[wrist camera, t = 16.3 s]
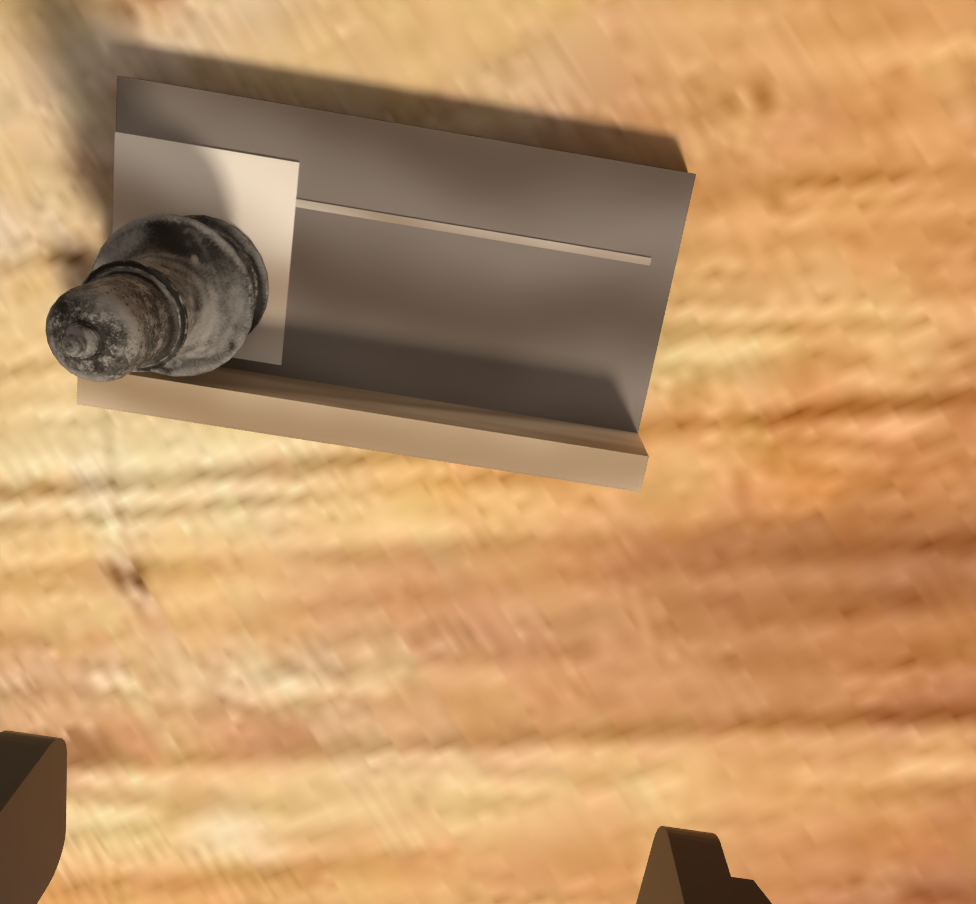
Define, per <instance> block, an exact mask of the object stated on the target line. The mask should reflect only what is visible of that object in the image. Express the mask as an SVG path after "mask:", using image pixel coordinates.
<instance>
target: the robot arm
mask: <svg viewBox="0 0 976 904" xmlns="http://www.w3.org/2000/svg"><path fill="white" fill-rule="evenodd" d="M66 782H67V748H66V743H65V741H64V740H63V739H61V738H56V737H49V736H42V735H35V734H28V733H21V732H14V731H3V732H1V733H0V904H37V903H38V901H39V899H40V898H41V896H42V894H43V893H44V891H45V890H46V888H47V886H48V885H49V883H50V881H51V879H52V877H53V875H54V873H55V870H56V868H57V865H58V863H59V860H60V857H61V853H62V849H63V845H64V840H65V833H66ZM636 904H772V903H771V902H770V901H769V899H768V898H767V897H766V896H765V894H764V893H763V892H762V891H761V889H760V888H759V887H758V886H757V884H756V883H755V882H754V881H753V880H749V879H742V878H735V877H731V876H730V872H729V869H728V866H727V863H726V859H725V856H724V853H723V850H722V847H721V843H720V841H719V839H718V837H717V836H716V835H715V834H713V833H707V832H700V831H693V830H686V829H679V828H672V827H665V826H660V827H659V828H658V830H657V832H656V834H655V837H654V840H653V844H652V848H651V851H650V855H649V859H648V862H647V866H646V870H645V873H644V877H643V881H642V884H641V888H640V892H639V895H638V899H637V903H636Z"/></svg>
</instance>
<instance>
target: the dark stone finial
mask: <svg viewBox="0 0 976 904" xmlns="http://www.w3.org/2000/svg"><path fill="white" fill-rule="evenodd" d="M268 296H269V281H268V273H267V270H266V267H265V264H264V262H263V259H262V256H261V255H260V253H259V252H258V250H257V249H256V247H255V246H254V244H253V243H252V241H251V240H250V239H249V238H248V237H247V236H245V235H244V234H243V233H242V232H241V231H240V230H239V229H238V228H236V227H234V226H232V225H231V224H229V223H227V222H225V221H223V220H221V219H217V218H213V217H210V216H206V215H186V216H180V215H176V214H152V215H148V216H145V217H142V218H139V219H135V220H132V221H130V222H129V223H127V224H126V225H124V226H122V227H121V228H119V229H118V230H116V231H115V232H114V233H113V234H112V235H111V236H110V238H109V239H108V240H107V241H106V243H105V244H104V245H103V246H102V247H101V249H100V252H99V254H98V257H97V259H96V261H95V264H94V266H93V271H92V272H91V273H90V274H89V276H88V277H87V278H86V279H85V281H84V282H83V283H82V285H81V286H78V287H76V288H73V289H70V290H69V291H67V292H66V293H64V294H63V295H61V296H60V297H59V298H58V299H57V301H56V302H55V303H54V304H53V306H52V307H51V308H50V311H49V314H48V316H47V320H46V335H47V341H48V344H49V346H50V349H51V351H52V353H53V355H54V356H55V357H56V359H57V360H58V361H59V363H60V364H61V365H62V366H63V367H64V368H66V369H67V370H68V371H69V372H70V373H72V374H74V375H76V376H78V377H79V378H81V379H85V380H89V381H93V382H109V381H113V380H117V379H121V378H123V377H124V376H126V375H127V374H129V373H131V372H148V371H152V372H156V373H160V374H164V375H169V376H195V375H199V374H202V373H206V372H209V371H212V370H214V369H216V368H217V367H219V366H221V365H222V364H224V363H225V362H227V361H229V360H230V359H231V358H232V357H233V355H234V354H235V353H236V352H237V351H238V350H239V349H240V348H241V347H242V345H243V344H244V341H245V339H246V337H247V335H249V334H250V332H251V331H252V330H253V329H254V328H255V327H256V326H257V325H258V324H259V322H260V320H261V318H262V316H263V314H264V312H265V310H266V307H267V302H268Z"/></svg>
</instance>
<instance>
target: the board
mask: <svg viewBox="0 0 976 904" xmlns="http://www.w3.org/2000/svg"><path fill="white" fill-rule="evenodd" d="M695 176H696V174H693V173H687V172H681V171H675V170H669V169H664V168H658V167H652V166H646V165H640V164H634V163H628V162H622V161H617V160H611V159H605V158H599V157H593V156H587V155H581V154H575V153H569V152H564V151H558V150H552V149H546V148H540V147H534V146H528V145H522V144H517V143H511V142H505V141H499V140H493V139H487V138H481V137H475V136H470V135H464V134H458V133H452V132H446V131H440V130H434V129H428V128H423V127H417V126H411V125H405V124H399V123H393V122H387V121H381V120H376V119H370V118H364V117H358V116H352V115H346V114H340V113H334V112H328V111H323V110H317V109H311V108H305V107H299V106H293V105H287V104H281V103H276V102H270V101H264V100H258V99H252V98H246V97H240V96H234V95H229V94H223V93H217V92H211V91H205V90H199V89H193V88H187V87H182V86H176V85H170V84H164V83H158V82H152V81H146V80H140V79H135V78H129V77H123V76H117V106H116V132H115V141H114V178H113V215H112V234H113V233H114V232H115V231H116V230H118V229H119V228H121V227H122V226H124V225H126V224H127V223H129V222H130V221H132V220H135V219H139V218H142V217H145V216H148V215H152V214H176V215H180V216H186V215H206V216H210V217H213V218H217V219H221V220H223V221H225V222H227V223H229V224H231V225H232V226H234V227H236V228H238V229H239V230H240V231H241V232H242V233H243V234H244V235H245V236H247V237H248V238H249V239H250V240H251V241H252V243H253V244H254V246H255V247H256V249H257V250H258V252H259V253H260V255H261V256H262V259H263V262H264V264H265V267H266V270H267V273H268V281H269V296H268V302H267V307H266V310H265V312H264V314H263V316H262V318H261V320H260V322H259V324H258V325H257V326H256V327H255V328H254V329H253V330H252V331H251V332H250V334H249V335H247V337H246V339H245V341H244V344H243V345H242V347H241V348H240V349H239V350H238V351H237V352H236V353H235V354H234V355H233V357H232V358H231V359H230V360H229V361H227V362H225V363H224V364H222V365H221V366H219V367H217V368H216V369H214V370H212V371H209V372H206V373H202V374H199V375H195V376H169V375H164V374H160V373H156V372H152V371H148V372H131V373H129V374H127V375H126V376H124V377H123V378H121V379H117V380H113V381H109V382H93V381H89V380H85V379H81V378H79V377H78V383H77V404H79V405H85V406H91V407H98V408H104V409H111V410H117V411H123V412H130V413H136V414H143V415H149V416H155V417H162V418H168V419H175V420H181V421H187V422H194V423H200V424H207V425H213V426H219V427H226V428H232V429H239V430H245V431H252V432H258V433H264V434H271V435H277V436H284V437H290V438H296V439H303V440H309V441H316V442H322V443H328V444H335V445H341V446H348V447H354V448H360V449H367V450H373V451H380V452H386V453H392V454H399V455H405V456H412V457H418V458H424V459H431V460H437V461H444V462H450V463H457V464H463V465H469V466H476V467H482V468H489V469H495V470H501V471H508V472H514V473H521V474H527V475H533V476H540V477H546V478H553V479H559V480H565V481H572V482H578V483H585V484H591V485H597V486H604V487H610V488H617V489H623V490H630V491H636V492H641V488H642V484H643V479H644V475H645V471H646V466H647V462H648V458H649V456H648V454H647V452H646V450H645V448H644V445H643V443H642V441H641V439H640V437H639V435H638V430H639V425H640V421H641V417H642V412H643V408H644V403H645V399H646V394H647V390H648V385H649V381H650V376H651V372H652V368H653V363H654V359H655V354H656V350H657V345H658V341H659V336H660V332H661V328H662V323H663V319H664V314H665V310H666V305H667V301H668V296H669V292H670V288H671V283H672V279H673V274H674V270H675V265H676V261H677V256H678V252H679V247H680V243H681V239H682V234H683V230H684V225H685V221H686V216H687V212H688V207H689V203H690V199H691V194H692V190H693V185H694V181H695Z"/></svg>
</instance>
